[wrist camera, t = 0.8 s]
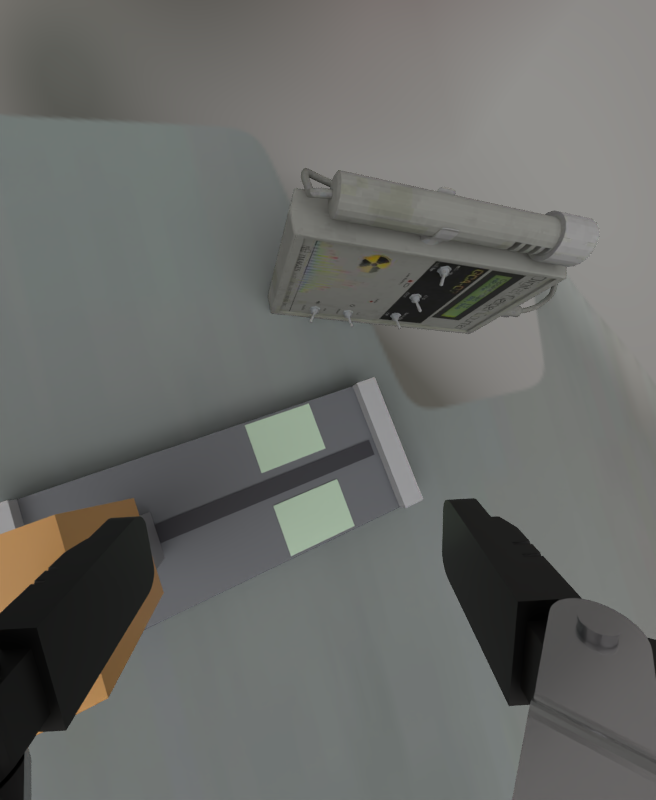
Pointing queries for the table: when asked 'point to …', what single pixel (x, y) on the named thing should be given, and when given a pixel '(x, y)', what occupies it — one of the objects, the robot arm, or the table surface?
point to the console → (250, 492)
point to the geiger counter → (417, 255)
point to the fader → (45, 542)
